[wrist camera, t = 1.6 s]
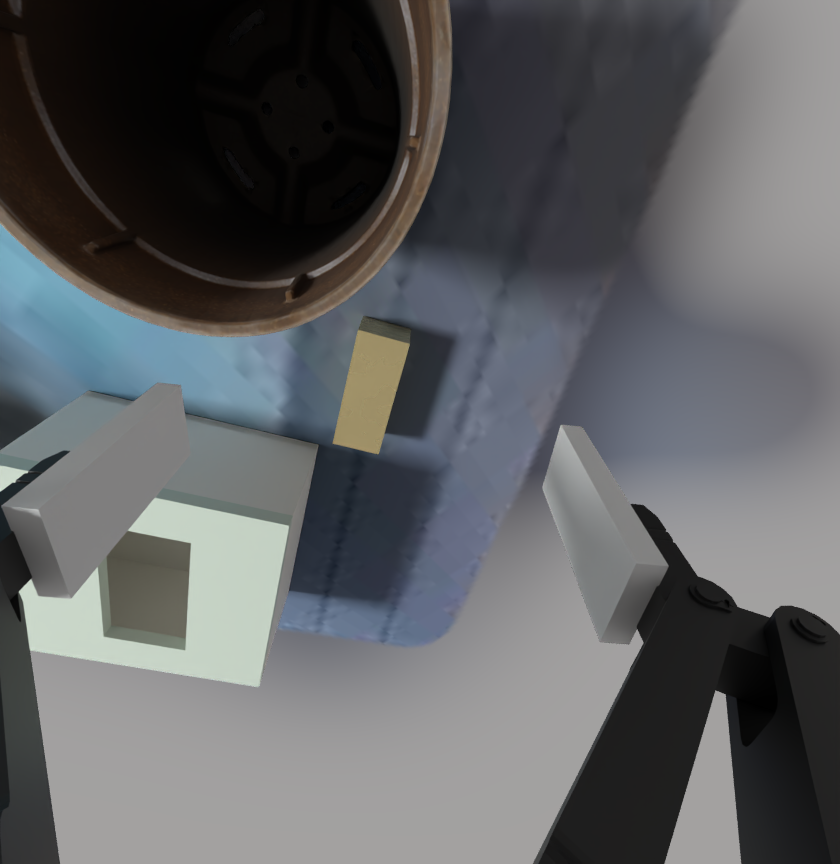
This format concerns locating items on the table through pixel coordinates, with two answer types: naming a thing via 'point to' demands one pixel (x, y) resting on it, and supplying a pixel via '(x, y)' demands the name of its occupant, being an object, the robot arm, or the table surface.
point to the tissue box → (181, 552)
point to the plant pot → (218, 150)
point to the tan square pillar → (371, 384)
